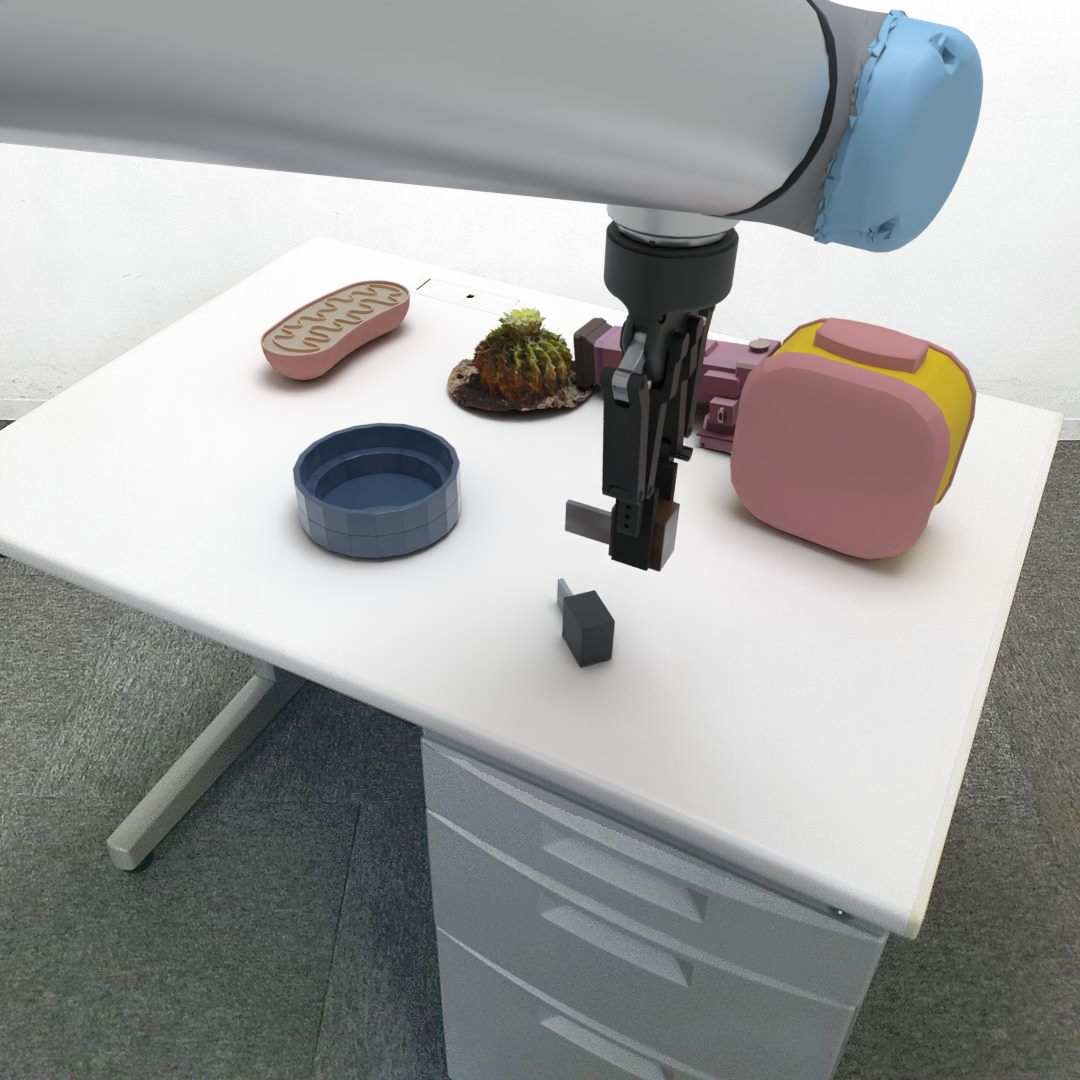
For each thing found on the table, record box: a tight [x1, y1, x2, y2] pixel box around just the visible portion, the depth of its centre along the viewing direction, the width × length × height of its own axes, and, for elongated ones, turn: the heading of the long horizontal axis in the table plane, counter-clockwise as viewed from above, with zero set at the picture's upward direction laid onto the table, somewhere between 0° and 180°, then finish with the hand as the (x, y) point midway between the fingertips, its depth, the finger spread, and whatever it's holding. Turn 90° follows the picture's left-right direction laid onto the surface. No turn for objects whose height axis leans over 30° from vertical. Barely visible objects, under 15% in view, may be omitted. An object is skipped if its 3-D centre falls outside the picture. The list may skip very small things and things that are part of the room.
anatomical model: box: [259, 279, 411, 381], centre depth 117 cm, size 23×10×5 cm, turn 151°
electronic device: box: [572, 317, 782, 454], centre depth 105 cm, size 11×27×10 cm, turn 59°
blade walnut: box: [564, 497, 681, 573], centre depth 68 cm, size 8×3×4 cm, turn 63°
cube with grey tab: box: [556, 577, 616, 668], centre depth 79 cm, size 8×3×4 cm, turn 21°
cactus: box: [447, 307, 595, 412], centre depth 110 cm, size 17×16×10 cm
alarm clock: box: [729, 317, 977, 560], centre depth 87 cm, size 18×11×19 cm, turn 56°
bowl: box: [292, 422, 462, 559], centre depth 91 cm, size 15×15×6 cm
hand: (640, 548), depth 69 cm, fingers closed on blade walnut, 3 cm apart
